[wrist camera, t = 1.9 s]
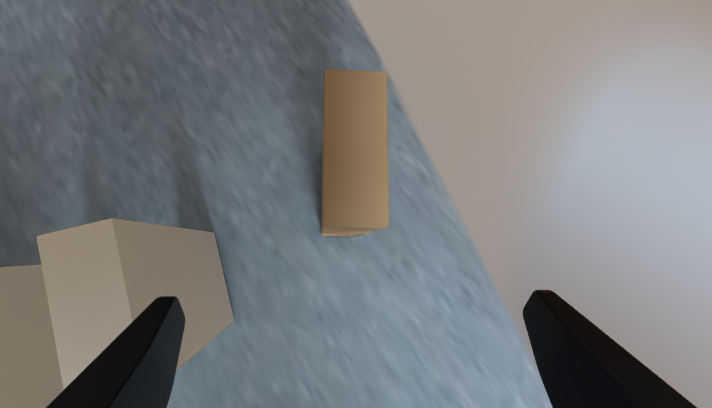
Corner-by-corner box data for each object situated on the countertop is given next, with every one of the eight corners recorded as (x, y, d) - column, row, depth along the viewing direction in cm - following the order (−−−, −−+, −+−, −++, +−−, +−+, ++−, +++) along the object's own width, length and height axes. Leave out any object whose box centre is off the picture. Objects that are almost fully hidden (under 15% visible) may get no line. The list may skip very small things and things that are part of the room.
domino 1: (123, 259, 19) (-79, 271, 10) (157, 346, 19) (-17, 452, 9) (86, 274, 19) (-162, 304, 9) (119, 363, 19) (-102, 490, 9)
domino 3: (355, 152, 21) (386, 71, 12) (356, 236, 21) (389, 226, 11) (322, 151, 21) (324, 68, 11) (321, 236, 21) (323, 226, 11)
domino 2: (214, 232, 20) (111, 218, 10) (234, 321, 20) (147, 395, 10) (177, 241, 20) (35, 236, 10) (197, 331, 19) (69, 418, 10)
